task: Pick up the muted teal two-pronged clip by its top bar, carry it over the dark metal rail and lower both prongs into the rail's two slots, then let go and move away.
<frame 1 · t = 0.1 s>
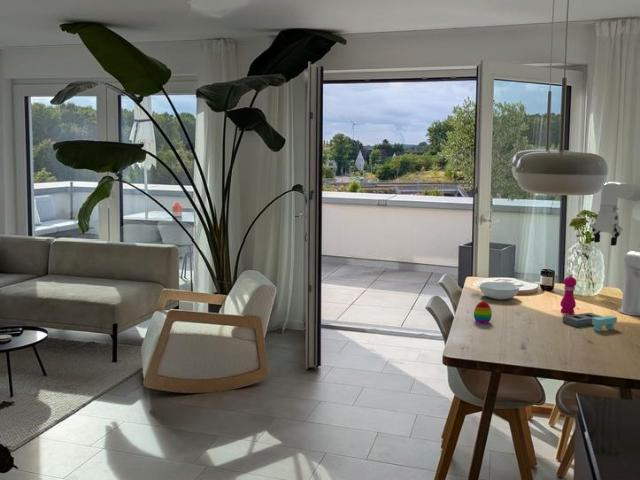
hand: (605, 243, 318), 37 cm above the table, tool pointing down, fingers open, 9 cm apart
decorative egg: (482, 322, 310), on the table
serving bowl: (498, 298, 359), on the table
clip: (603, 329, 303), on the table
pepper mill: (567, 313, 331), on the table
rail: (582, 322, 313), on the table
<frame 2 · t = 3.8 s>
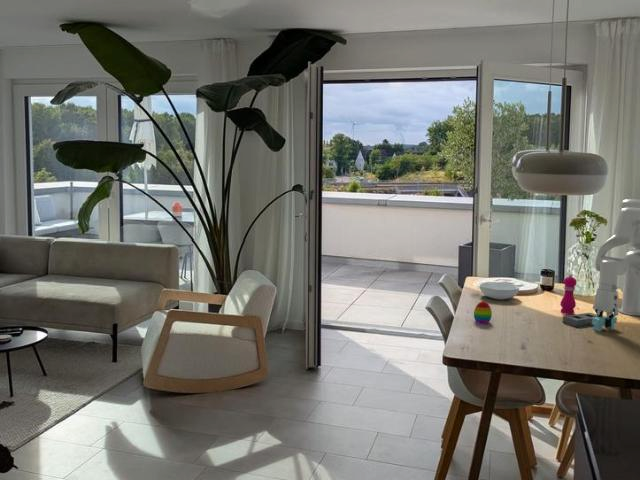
hand: (603, 325, 302), 2 cm above the table, tool pointing down, fingers closed on clip, 3 cm apart
clip: (603, 329, 303), on the table, touching gripper
everything else where it was.
when the fingers open (3 cm above the table, at t = 8.4 s): clip drops 1 cm, resting on rail.
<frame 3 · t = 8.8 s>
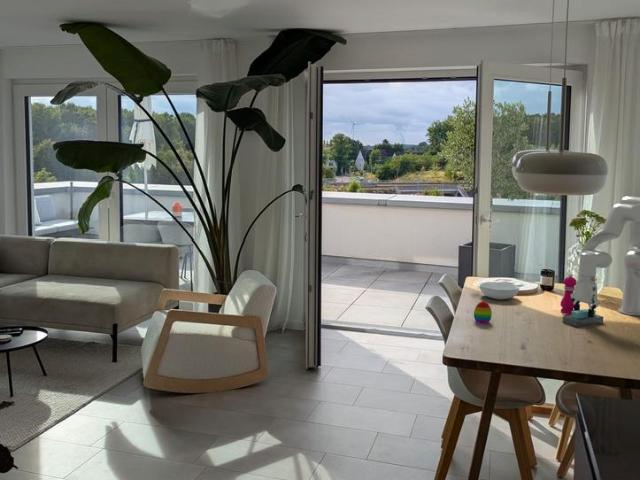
hand: (583, 314, 313), 4 cm above the table, tool pointing down, fingers open, 7 cm apart
clip: (582, 322, 313), resting on rail
everything else where it was.
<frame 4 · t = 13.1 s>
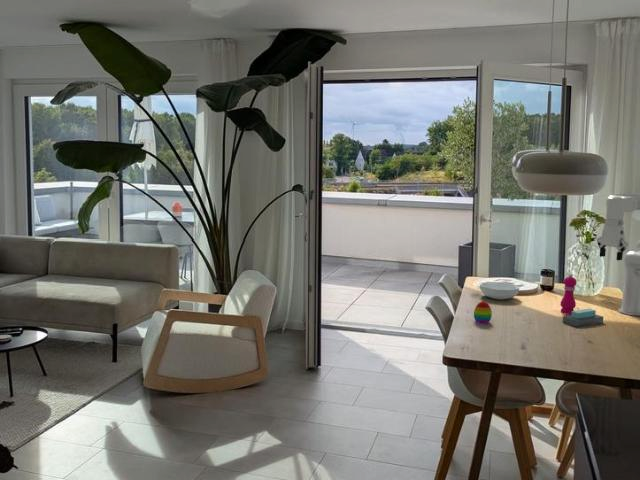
hand: (610, 258, 315), 30 cm above the table, tool pointing down, fingers open, 9 cm apart
nothing on the table moved.
at the end: clip 0.0 cm off-centre on the rail, point 0.2 cm above the rail's base; clip tilted 0°; the gripper is holding nothing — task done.
